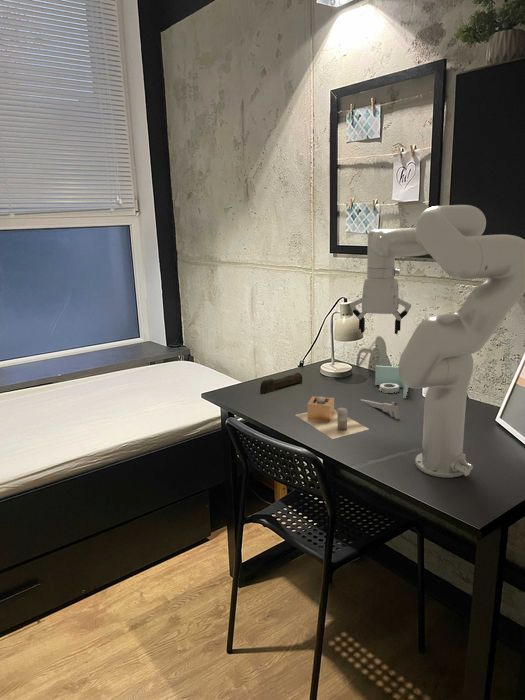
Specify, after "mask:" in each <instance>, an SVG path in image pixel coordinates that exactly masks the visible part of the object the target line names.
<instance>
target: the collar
mask: <svg viewBox="0 0 525 700" xmlns="http://www.w3.org/2000/svg"><path fill="white" fill-rule="evenodd" d="M317 397H318V396H314V395H313V396H311V398H310V399H309V401H308V402H307V404H306V405H307V406H306V407H307V417H308V419H311V420H322V421H330V420H331V418H332V416H333V414H334V410H335V397H326V396H324V397H325V402H328V403H327V404H318V403H315V402H316V401H317Z"/></svg>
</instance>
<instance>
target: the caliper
mask: <svg viewBox="0 0 525 700" xmlns="http://www.w3.org/2000/svg"><path fill="white" fill-rule="evenodd" d="M360 402H363V403H364V404H366V405H368V406H370V407H372V408H376V409H381V410H382V412H385V413H389V416H390V417H391V418H394V419H395V420H400V408H399V405H398V402H397V401H391V403H387V402H382V403H381V402H376V401H372V400H368V399H367V400H366V399H360Z"/></svg>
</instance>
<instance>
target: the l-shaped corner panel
mask: <svg viewBox="0 0 525 700" xmlns="http://www.w3.org/2000/svg"><path fill="white" fill-rule="evenodd" d="M374 372H375V376H374V377H375V378H374V380H375V381H374V386H376V385H379V386H378V387H379V389H378V390H380V391H379V392H381V391H382V392H383V394H389V393H394V392H395V393H399V392H400V388H402V390H403V392H402V393H403V394H402V398H403V399H407V397H408V393H409V389H408V388H410V387H408V386H406V385H405V384H404V383H403V382H402V380H401V379H400V376H399V371H398V366H392V365H391V366H390V365H375V369H374ZM382 392H381V393H382ZM407 392H408V393H407ZM395 393H394V394H395ZM406 396H407V397H406Z"/></svg>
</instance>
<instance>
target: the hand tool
mask: <svg viewBox="0 0 525 700" xmlns="http://www.w3.org/2000/svg"><path fill="white" fill-rule="evenodd" d="M298 383H299V384H302V383H303V375H302V374H301V373H299V372H295V373H294V374H291V375H287V376H284V377H280V378H276V379H275V378H269V379H264V380H262V382H261V383H260V386H259V389H260V393H261V394H264V393H270V392H275V390H277V389H280V388H284V387H288V386H291V385H296V384H298Z"/></svg>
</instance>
